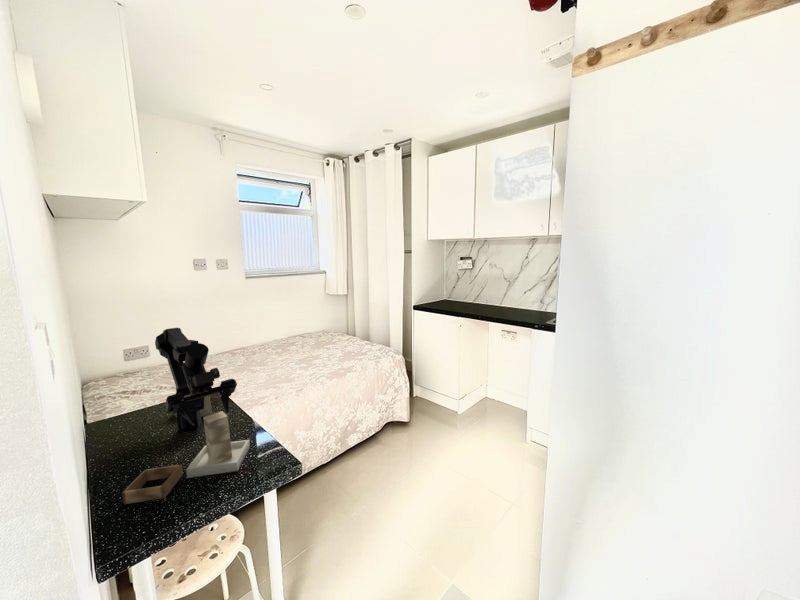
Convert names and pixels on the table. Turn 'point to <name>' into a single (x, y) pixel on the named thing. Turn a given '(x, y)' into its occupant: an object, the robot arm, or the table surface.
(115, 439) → the table surface
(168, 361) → the robot arm
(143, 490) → the oak collar
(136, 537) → the table surface
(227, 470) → the white tray
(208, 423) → the maple block
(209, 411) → the skincare box
